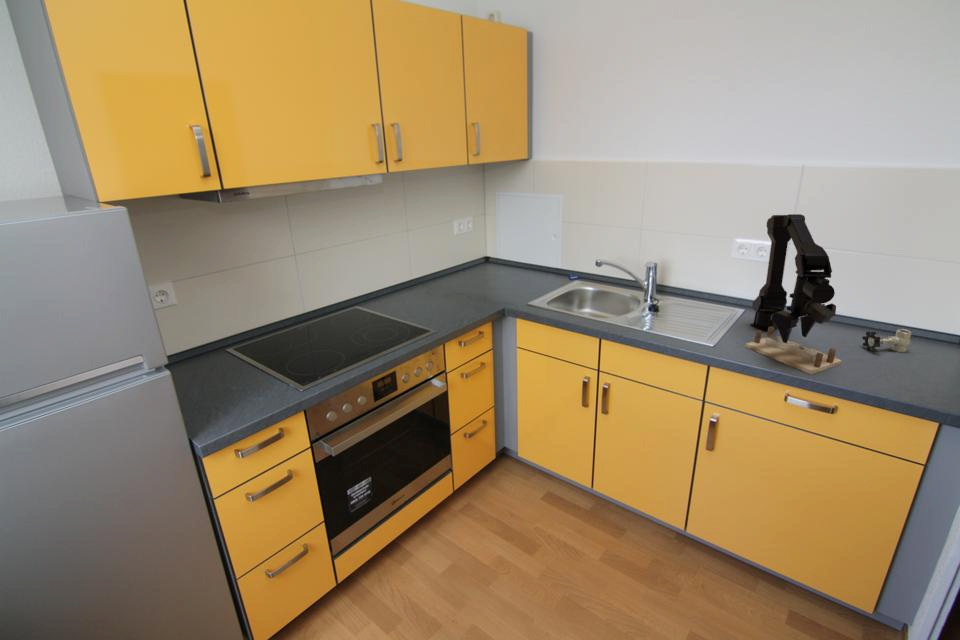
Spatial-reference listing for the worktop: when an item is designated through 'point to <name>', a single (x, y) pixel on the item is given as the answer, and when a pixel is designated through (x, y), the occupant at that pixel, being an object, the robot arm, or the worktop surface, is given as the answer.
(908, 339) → the valve
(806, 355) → the beige stepped post
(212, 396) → the worktop surface
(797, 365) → the peg board
